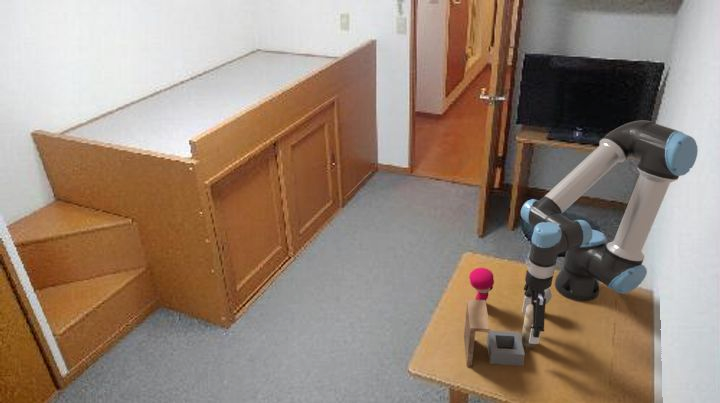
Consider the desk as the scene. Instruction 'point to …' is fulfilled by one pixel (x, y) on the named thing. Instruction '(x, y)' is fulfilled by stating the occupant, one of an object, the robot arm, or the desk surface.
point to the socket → (505, 355)
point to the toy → (482, 282)
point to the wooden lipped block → (474, 325)
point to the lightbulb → (547, 295)
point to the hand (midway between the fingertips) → (529, 327)
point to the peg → (527, 327)
